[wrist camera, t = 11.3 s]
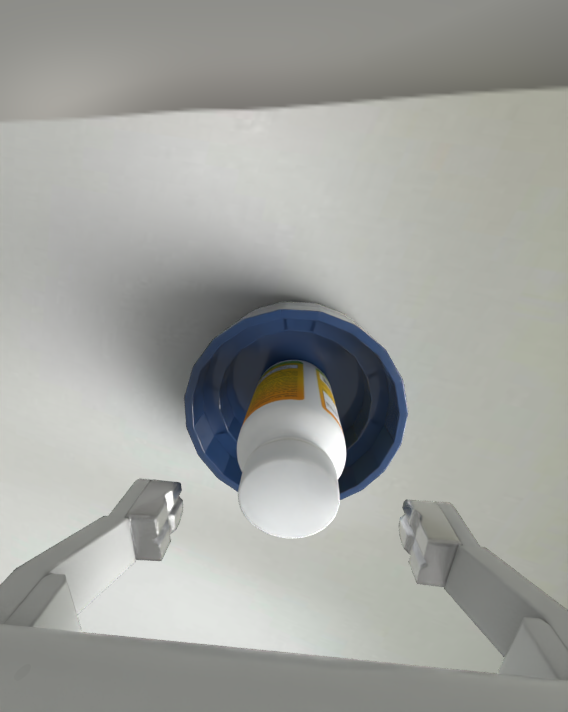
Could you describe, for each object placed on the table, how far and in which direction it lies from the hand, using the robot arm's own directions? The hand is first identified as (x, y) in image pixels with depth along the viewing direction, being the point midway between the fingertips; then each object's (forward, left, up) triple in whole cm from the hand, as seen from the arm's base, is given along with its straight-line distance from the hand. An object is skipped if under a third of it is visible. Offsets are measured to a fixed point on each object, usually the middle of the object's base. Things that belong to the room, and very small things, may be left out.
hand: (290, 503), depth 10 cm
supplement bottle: (0, 0, -10) cm, 10 cm away
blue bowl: (0, 0, -11) cm, 11 cm away
